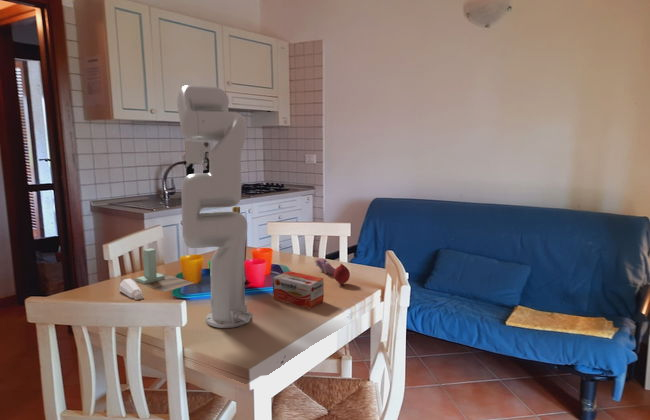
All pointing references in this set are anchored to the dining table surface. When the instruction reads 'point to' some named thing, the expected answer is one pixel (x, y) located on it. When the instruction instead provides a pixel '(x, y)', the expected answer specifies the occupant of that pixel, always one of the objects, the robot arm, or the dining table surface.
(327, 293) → the dining table surface
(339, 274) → the onion
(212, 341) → the dining table surface
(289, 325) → the dining table surface
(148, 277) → the mint t-shaped block
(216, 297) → the robot arm
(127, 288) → the pepper shaker
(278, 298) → the medicine box
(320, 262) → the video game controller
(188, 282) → the board
